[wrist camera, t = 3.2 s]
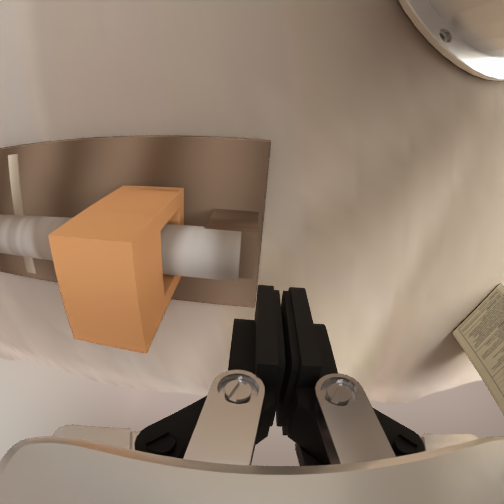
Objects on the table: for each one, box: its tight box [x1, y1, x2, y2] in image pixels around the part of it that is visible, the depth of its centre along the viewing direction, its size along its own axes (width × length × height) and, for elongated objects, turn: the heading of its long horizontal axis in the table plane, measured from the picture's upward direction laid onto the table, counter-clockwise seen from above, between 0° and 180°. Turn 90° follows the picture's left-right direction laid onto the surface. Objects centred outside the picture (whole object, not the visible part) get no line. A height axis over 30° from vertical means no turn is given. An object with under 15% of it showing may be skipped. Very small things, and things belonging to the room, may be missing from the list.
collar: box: [48, 186, 184, 353], centre depth 14 cm, size 4×5×7 cm
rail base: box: [0, 135, 271, 307], centre depth 16 cm, size 24×10×5 cm, turn 86°
